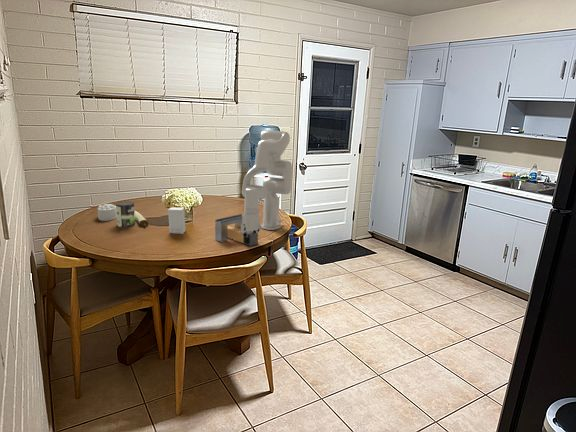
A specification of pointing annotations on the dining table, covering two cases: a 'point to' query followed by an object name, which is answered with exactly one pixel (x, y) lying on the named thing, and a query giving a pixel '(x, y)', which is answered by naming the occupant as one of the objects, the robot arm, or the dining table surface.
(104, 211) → the lumpy-topped squat cylinder
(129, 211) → the coffee can
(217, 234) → the grey arch-shaped block
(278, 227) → the robot arm
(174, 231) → the skincare box
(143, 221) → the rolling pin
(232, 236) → the plug
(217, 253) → the dining table surface
